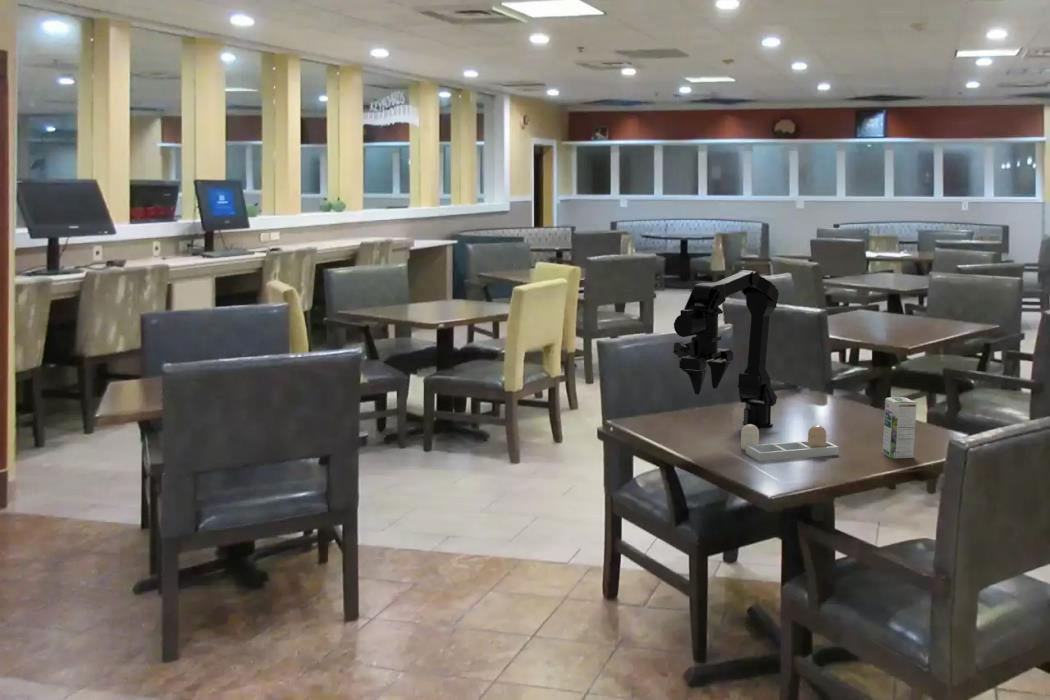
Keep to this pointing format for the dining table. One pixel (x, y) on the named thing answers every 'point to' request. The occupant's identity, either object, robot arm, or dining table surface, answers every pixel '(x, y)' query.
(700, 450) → the dining table surface
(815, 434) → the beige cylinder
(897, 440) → the syrup box
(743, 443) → the white capsule shape
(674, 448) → the dining table surface
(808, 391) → the dining table surface
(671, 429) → the dining table surface
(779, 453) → the divided compartment tray
